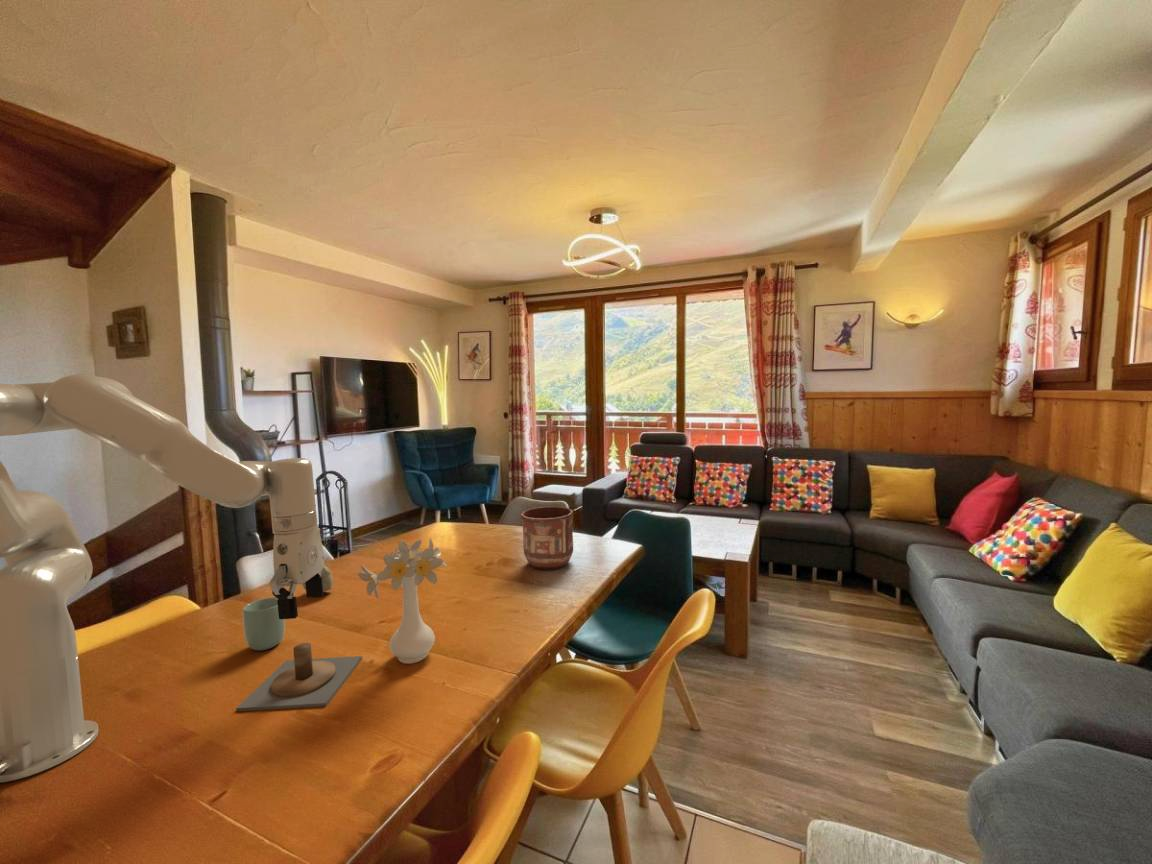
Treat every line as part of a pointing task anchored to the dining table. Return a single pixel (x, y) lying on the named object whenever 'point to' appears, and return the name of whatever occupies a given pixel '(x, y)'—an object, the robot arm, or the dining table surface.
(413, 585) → the flower vase
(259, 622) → the cup
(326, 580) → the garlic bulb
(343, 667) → the mat
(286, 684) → the lid
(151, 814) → the dining table surface
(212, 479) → the robot arm
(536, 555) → the pottery
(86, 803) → the dining table surface
